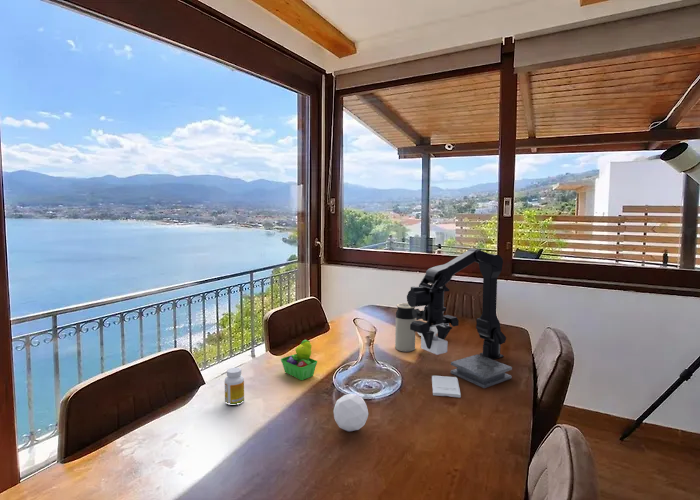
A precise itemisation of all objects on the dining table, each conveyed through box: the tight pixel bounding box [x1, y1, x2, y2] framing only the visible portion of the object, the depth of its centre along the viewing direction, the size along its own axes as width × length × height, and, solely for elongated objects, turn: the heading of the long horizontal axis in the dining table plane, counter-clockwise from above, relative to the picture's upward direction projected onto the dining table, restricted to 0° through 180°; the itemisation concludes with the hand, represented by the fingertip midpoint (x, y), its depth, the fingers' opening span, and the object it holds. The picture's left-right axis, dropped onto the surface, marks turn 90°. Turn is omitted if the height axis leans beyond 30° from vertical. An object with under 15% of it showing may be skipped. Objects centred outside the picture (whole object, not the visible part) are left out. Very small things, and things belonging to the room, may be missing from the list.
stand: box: [450, 353, 513, 389], centre depth 136 cm, size 14×14×4 cm
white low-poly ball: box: [333, 393, 369, 432], centre depth 104 cm, size 9×9×12 cm
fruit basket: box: [280, 339, 318, 381], centre depth 136 cm, size 11×9×11 cm
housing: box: [420, 334, 449, 356], centre depth 142 cm, size 5×8×5 cm, turn 33°
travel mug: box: [394, 302, 416, 353], centre depth 161 cm, size 8×8×18 cm
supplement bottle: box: [224, 367, 245, 404], centre depth 115 cm, size 5×5×10 cm
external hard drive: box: [431, 375, 462, 398], centre depth 127 cm, size 2×8×12 cm
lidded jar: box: [416, 319, 438, 338], centre depth 178 cm, size 11×11×9 cm
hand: (434, 347), depth 143 cm, fingers closed on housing, 5 cm apart
